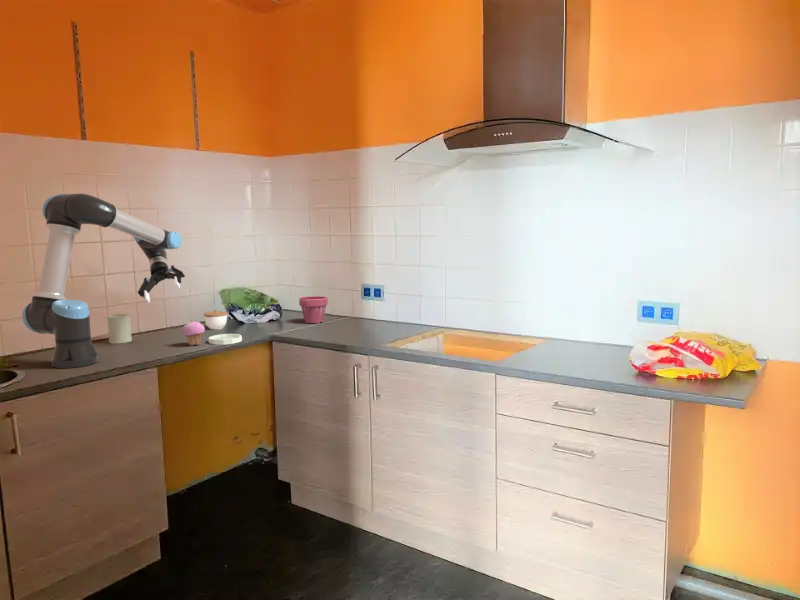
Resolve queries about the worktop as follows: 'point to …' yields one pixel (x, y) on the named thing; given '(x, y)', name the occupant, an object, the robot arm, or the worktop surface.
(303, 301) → the plant pot
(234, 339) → the dish
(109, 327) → the can
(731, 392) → the worktop surface
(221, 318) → the lidded jar
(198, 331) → the cupcake
